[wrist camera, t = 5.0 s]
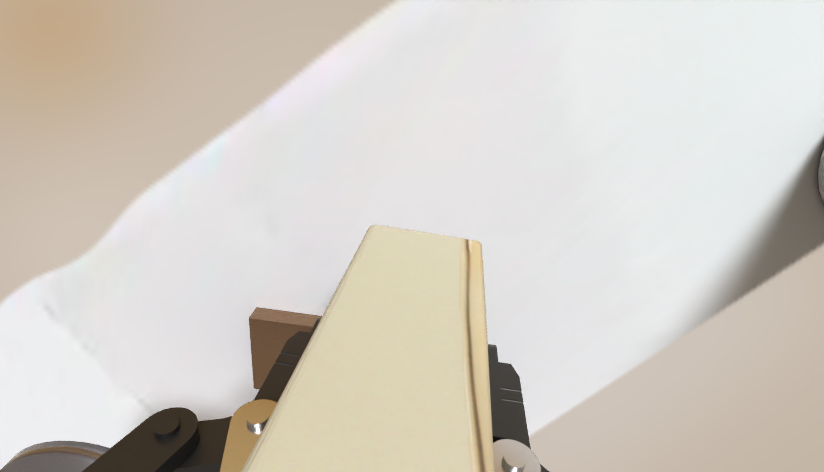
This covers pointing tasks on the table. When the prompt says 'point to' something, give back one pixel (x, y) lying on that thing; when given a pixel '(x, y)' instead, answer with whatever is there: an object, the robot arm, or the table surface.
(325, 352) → the skincare box
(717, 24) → the table surface
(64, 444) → the balance
